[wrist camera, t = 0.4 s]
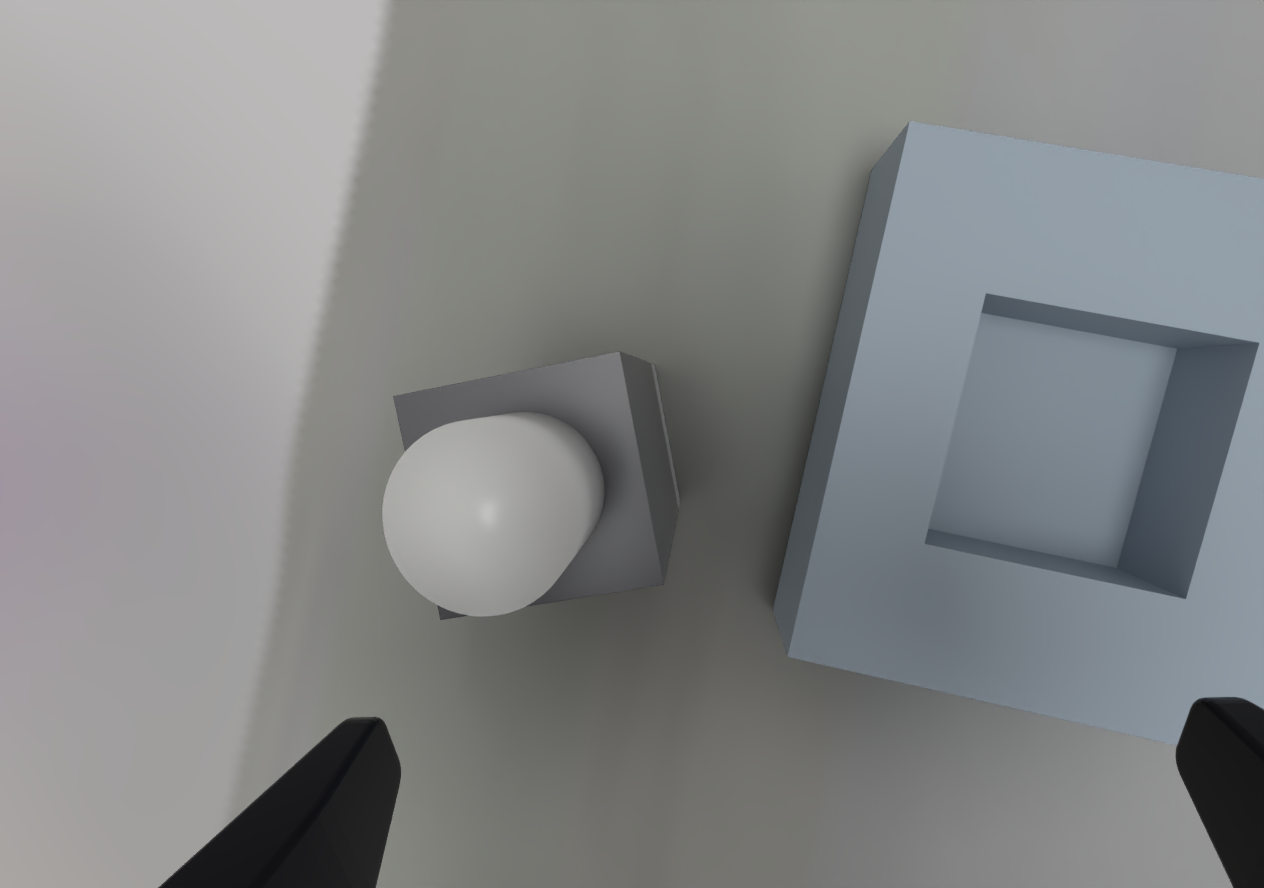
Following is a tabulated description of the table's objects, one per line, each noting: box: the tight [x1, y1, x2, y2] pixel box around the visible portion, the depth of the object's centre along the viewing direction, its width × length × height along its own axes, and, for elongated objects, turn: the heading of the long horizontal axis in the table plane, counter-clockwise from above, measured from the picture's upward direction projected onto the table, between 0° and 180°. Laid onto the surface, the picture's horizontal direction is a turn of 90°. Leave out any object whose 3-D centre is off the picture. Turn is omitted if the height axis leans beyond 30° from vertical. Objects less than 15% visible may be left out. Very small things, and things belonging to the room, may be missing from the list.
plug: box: [382, 351, 680, 620], centre depth 17 cm, size 4×4×12 cm
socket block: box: [773, 121, 1264, 745], centre depth 20 cm, size 14×12×4 cm
